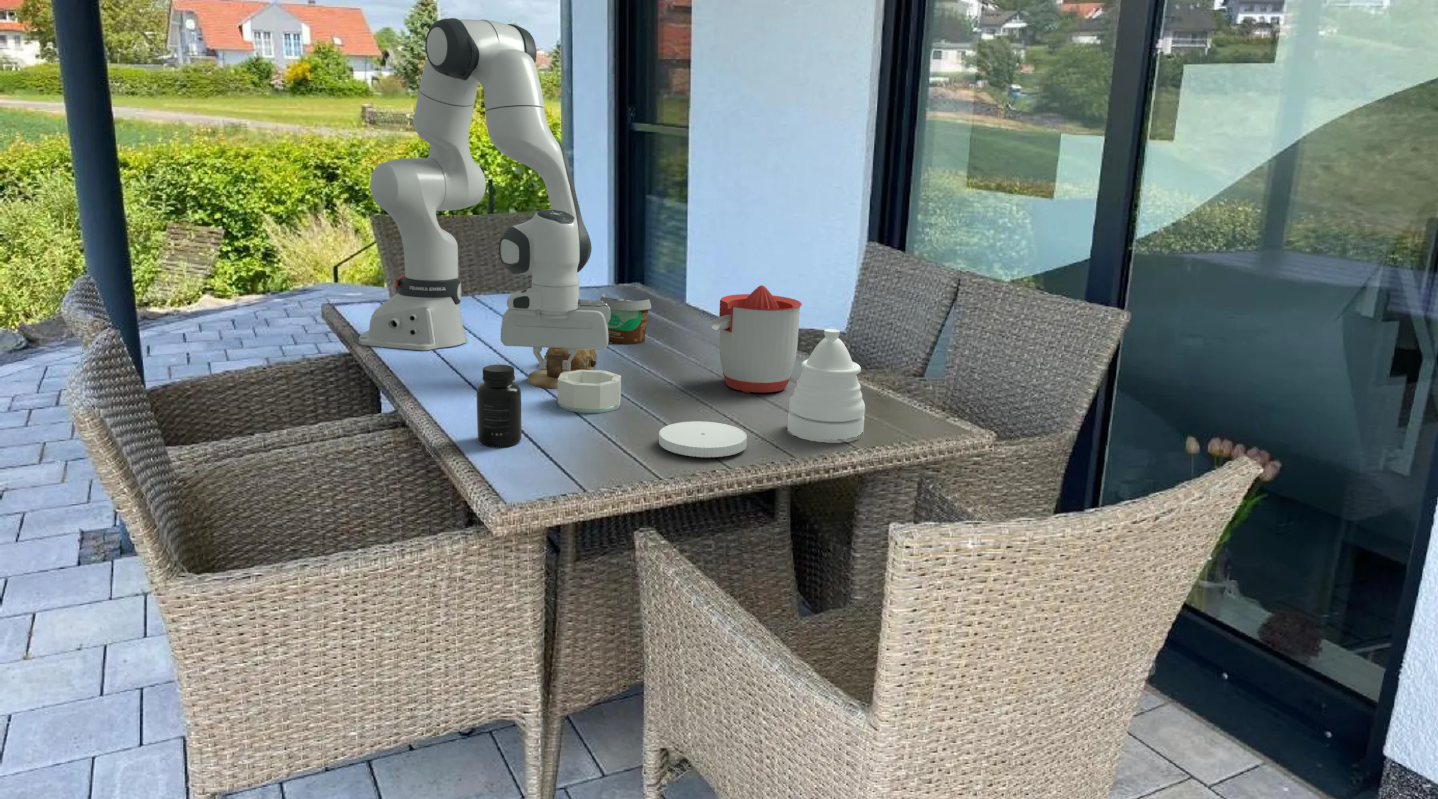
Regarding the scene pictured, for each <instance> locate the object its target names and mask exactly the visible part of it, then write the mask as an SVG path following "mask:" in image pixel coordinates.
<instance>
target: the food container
mask: <svg viewBox="0 0 1438 799" xmlns="http://www.w3.org/2000/svg"><path fill="white" fill-rule="evenodd" d="M650 300H651V299H649V298H648V299H644V300H633V299H629V298H611V297H606V293H602V295H601V297H600V301H603V303H606V304H607V305H608V306H609V307H610V310H611V318H610V321H609V322H608V323H607V325H608V336H609V342H608V343H610V342H612V343H611V344H614V343H617V344H616V345H640V344H643V342H644V343H645V340H646V333H647V326H648V325H647V324H648V317H649V310H650V309H652V304H651V301H650ZM603 306H605V305H603Z"/></svg>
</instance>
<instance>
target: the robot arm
mask: <svg viewBox="0 0 1438 799" xmlns="http://www.w3.org/2000/svg"><path fill="white" fill-rule="evenodd" d="M424 45H425V46H424V47H425V48H424V49H425V54H426V57H427V58H426V62H425V64H424V67H423V71H422V75H421V78H420V82H419V83H420V84H419V86H418V94H417V99H416V104H415V108H414V109H415V110H414V115H413V121H412V122H413V124H412V125H413V127H414V130H415V131H416V133H417V135H418V136H419V137H420V138H421V139H422V140H423V141H424V142H426V143H427V144H428V145H429V153H428V156H427V157H424V158H423V157H421V158H420V157H417V158H415V157H413V158H411V157H410V158H407V157H406V158H403V157H402V158H397V159H396V158H395V159H391V160H388V161H385V162H384V161H383V162H381V163H379V164H377V166H375V168H374V169H373V171H372V173H371V177H370V183H369V184H370V185H369V188H370V192H371V193H370V194H371V195H372V198H373V200H374V201H375V203H376V204H377V206H379V207H380V208H381V209H383V211H385V212H386V213H387V215H389V216H390V217H391V219H392V220H393V221H394V223H395V225H396V226H397V228H398V231H399V234H400V237H401V241H402V246H403V260H404V273H403V274H401V275H400V276H398V278H397V279H396V280H395V282H394V287H395V290H396V292H397V293H396V294H394V295H393V296H392V297H390V298H389V299H388V300H386V301H385V302H384V303H383V304H381V305H380V306H379V307H377V308H376V309H375V310H374V311H373V312H372V314H371V317H370V323H369V328H368V329H369V330H366V331H365V332H363V333H362V334H360V335H359V337H358V343H359V345H361V346H369V347H379V348H380V347H381V348H392V349H404V350H413V351H414V350H415V351H416V350H417V351H429V350H436V349H441V348H450V347H456V346H459V345H463V344H464V343H466V342H468V338H467V335H466V332H465V327H464V324H463V318H462V312H461V304H460V303H461V302H462V282H461V277H460V276H459V246H458V245H459V244H458V242H457V240H456V239H455V237H454V236H453V235H452V234H451V233H450V232H448V231H446V230H445V229H443V228H442V227H441V226H440V224H439V221H438V218H437V212H444V211H448V212H449V211H459V210H463V209H467V208H470V207H473V206H476V205H478V204H480V202H482V200H483V198H484V197H485V196H484V195H485V194H486V189H487V188H486V187H487V183H486V182H487V181H486V177H485V173H484V171H483V170H482V169H481V168H482V167H480V165H478V164H477V162H476V161H475V160H474V159H473V156H472V153H471V150H470V141H469V140H470V137H469V136H470V129H471V123H472V118H473V117H472V116H473V112H474V107H475V102H476V96H477V92H478V91H477V90H478V86H479V84H480V85H481V86H482V90H483V99H484V100H483V101H484V112H485V114H484V115H485V122H486V124H485V125H486V129H487V134H488V137H489V139H490V141H491V144H492V145H493V146H494V147H495V148H496V149H497V150H498V152H500V153H501V154H502V155H504V156H505V157H507V158H509V159H511V160H513V161H515V162H517V163H520V164H523V165H525V166H527V167H528V168H530V169H532V170H533V171H535V172H536V173H537V174H538V175H539V176H540V177H541V178H542V180H543V182H544V184H545V188H546V189H545V190H546V193H547V196H548V200H549V205H550V208H551V209H542V210H538V211H536V212H535V214H533V217H532V218H531V219H529V220H527V221H525V222H523V223H519V224H516V225H515V224H514V225H512V226H509V227H507V228H505V229H506V230H504V232H503V233H502V235H501V237H500V239H499V242H498V255H499V259H500V262H501V263H502V265H503V266H504V268H505V269H506V270H507V271H508V272H510V273H511V274H513V275H520V276H528V275H531V276H532V277H531V278H532V279H531V287H530V288H525V289H521V290H518V291H515V292H513V293H511V294H510V295H509V296H508V298H507V299H506V305H507V306H506V307H507V308H508V309H506V310H505V312H504V314H503V315H502V320H501V326H500V342H501V343H502V345H503V346H505V347H522V348H523V347H524V348H525V347H526V348H527V347H528V348H532V353H533V355H534V357H535V358H536V360H537V361H538V371H539V370H547V360H546V359H544V356H543V355H542V354H541V352H542V350H543V348H547V349H549V348H568V354H571V355H570V357H569V358H568V360H563V362H562V366H563V367H562V371H570V370H571V361H572V359H573V358H574V356H575V354H576V352H577V349H594V350H595V351H596V350H597V351H598V350H599V351H600V350H602V351H604V350H605V349H606V348H607V347H608V346H609V343H610V342H609V336H608V325H607V323H608V322H609V321H610V318H611V310H610V307H609V306H608V305H607V304H606V303H603V301H600V300H599V299H598V300H590V299H580V279H579V275H578V273H579V272H581V271H582V269H583V268H585V266H586V265H587V263H588V262H589V260H590V258H591V254H592V241H591V239H590V235H589V232H588V230H587V228H586V225H585V223H584V220H583V217H582V213H581V208H580V205H579V201H578V196H577V193H576V192H577V191H576V188H575V183H574V179H573V176H572V172H571V169H570V164H569V160H568V157H567V153H566V151H565V148H564V146H563V144H562V143H561V142H560V141H559V140H558V139H557V138H555V136H554V134H553V133H552V130H551V128H550V125H549V123H548V120H547V116H546V110H545V102H544V94H543V91H542V84H541V80H540V77H539V72H538V69H537V66H536V62H537V54H538V53H537V45H536V42H535V39H534V37H533V35H532V34H531V32H530V31H528V30H527V29H525V28H523V27H521V26H520V25H515V24H513V23H508V24H507V23H505V22H504V23H503V22H499V21H495V20H488V19H459V18H456V17H450V18H442V19H438V20H436V21H434V22H433V23H432V25H431V26H430V28H429V30H428V31H427V33H426V36H425V44H424ZM603 305H605V306H603Z"/></svg>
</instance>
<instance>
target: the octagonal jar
mask: <svg viewBox="0 0 1438 799" xmlns="http://www.w3.org/2000/svg"><path fill="white" fill-rule="evenodd" d="M621 388H622V375H620V374H617V373H614V372H610V371H608V370H602V369H601V370H600V369H599V370H597V369H595V370H594V369H593V370H576V371H570V372H565V373H561V374H560V376H559V378H558V389H557V404H558V405H557V406H558V407H559V409H562V410H564V411H568V412H571V413H580V414H602V413H603V414H604V413H609V412H612V411H616V410H617V409H619V408H620V407H621V397H622V396H621V395H622V393H621V392H622V391H621V390H622V389H621Z"/></svg>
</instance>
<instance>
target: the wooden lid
mask: <svg viewBox="0 0 1438 799" xmlns="http://www.w3.org/2000/svg"><path fill="white" fill-rule="evenodd" d="M562 362H563V355H562V354H548V355H547V370H539V369H538V370H535V371H532V372H530V373H529V374H527V376H528V377H527V378H528V380H527V381H528V384H529V385H530V386H532V387H537V388H542V389H554V390H556V389H557V390H558V378H559V376H560V374H561V373H565V372H570V371H562V367H563V366H562Z"/></svg>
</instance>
